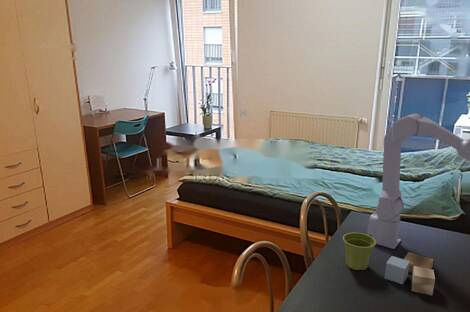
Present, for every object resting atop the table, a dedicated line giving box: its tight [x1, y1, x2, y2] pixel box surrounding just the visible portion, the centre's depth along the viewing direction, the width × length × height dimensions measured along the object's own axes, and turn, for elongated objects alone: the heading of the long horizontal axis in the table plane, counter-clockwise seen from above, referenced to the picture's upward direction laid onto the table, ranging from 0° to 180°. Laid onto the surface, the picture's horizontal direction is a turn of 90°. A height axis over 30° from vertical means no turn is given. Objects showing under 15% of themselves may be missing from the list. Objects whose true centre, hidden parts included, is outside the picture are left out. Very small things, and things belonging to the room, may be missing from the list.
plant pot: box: [342, 232, 377, 271], centre depth 113 cm, size 9×9×9 cm
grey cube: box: [384, 255, 410, 285], centre depth 108 cm, size 5×5×5 cm
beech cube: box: [411, 266, 436, 296], centre depth 103 cm, size 5×5×5 cm
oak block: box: [403, 251, 434, 273], centre depth 113 cm, size 7×7×3 cm
